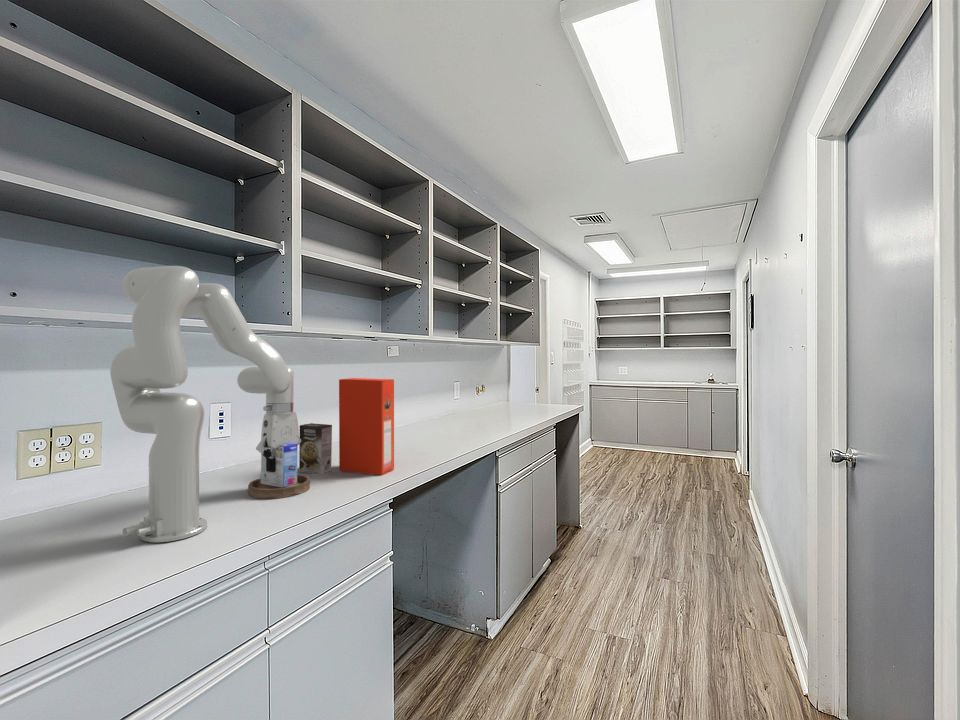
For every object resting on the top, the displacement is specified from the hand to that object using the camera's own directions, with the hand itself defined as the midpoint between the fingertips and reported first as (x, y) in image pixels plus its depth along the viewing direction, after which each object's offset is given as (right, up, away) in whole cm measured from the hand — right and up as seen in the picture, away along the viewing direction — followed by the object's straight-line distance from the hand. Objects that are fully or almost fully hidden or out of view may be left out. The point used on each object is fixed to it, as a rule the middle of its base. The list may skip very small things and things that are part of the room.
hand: (279, 468), depth 135 cm
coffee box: (+3, -6, +23) cm, 24 cm away
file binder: (+20, -7, +24) cm, 32 cm away
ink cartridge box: (0, -5, 0) cm, 5 cm away
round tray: (0, -6, 0) cm, 6 cm away
